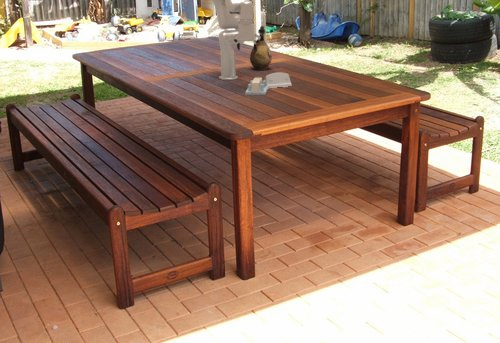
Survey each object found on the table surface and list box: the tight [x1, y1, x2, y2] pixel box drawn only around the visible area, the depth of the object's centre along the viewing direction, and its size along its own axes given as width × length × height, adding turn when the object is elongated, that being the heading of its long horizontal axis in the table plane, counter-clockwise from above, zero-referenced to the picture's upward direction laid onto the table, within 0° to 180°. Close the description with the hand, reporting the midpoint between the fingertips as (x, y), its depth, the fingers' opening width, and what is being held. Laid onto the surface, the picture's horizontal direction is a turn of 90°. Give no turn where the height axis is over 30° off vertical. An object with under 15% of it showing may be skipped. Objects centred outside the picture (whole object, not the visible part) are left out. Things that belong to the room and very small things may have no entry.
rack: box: [244, 79, 269, 96], centre depth 427 cm, size 18×12×6 cm, turn 173°
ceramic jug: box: [249, 25, 273, 71], centre depth 493 cm, size 17×15×30 cm
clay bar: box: [252, 77, 263, 92], centre depth 427 cm, size 16×4×6 cm, turn 173°
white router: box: [264, 71, 293, 90], centre depth 440 cm, size 17×5×10 cm, turn 107°
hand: (246, 50), depth 429 cm, fingers open, 9 cm apart
